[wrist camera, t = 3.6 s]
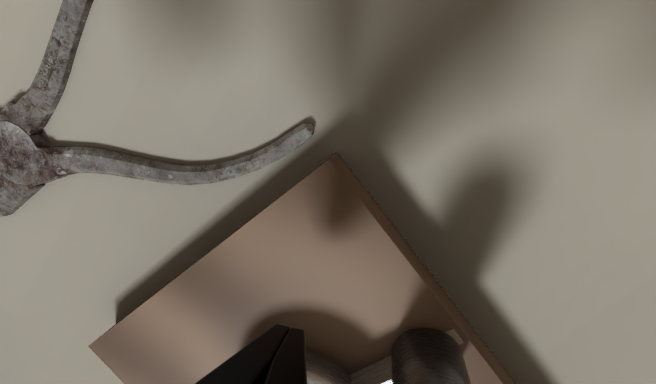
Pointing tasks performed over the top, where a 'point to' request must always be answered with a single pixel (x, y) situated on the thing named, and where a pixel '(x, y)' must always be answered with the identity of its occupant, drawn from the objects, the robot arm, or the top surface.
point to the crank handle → (400, 363)
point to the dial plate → (294, 292)
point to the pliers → (56, 162)
